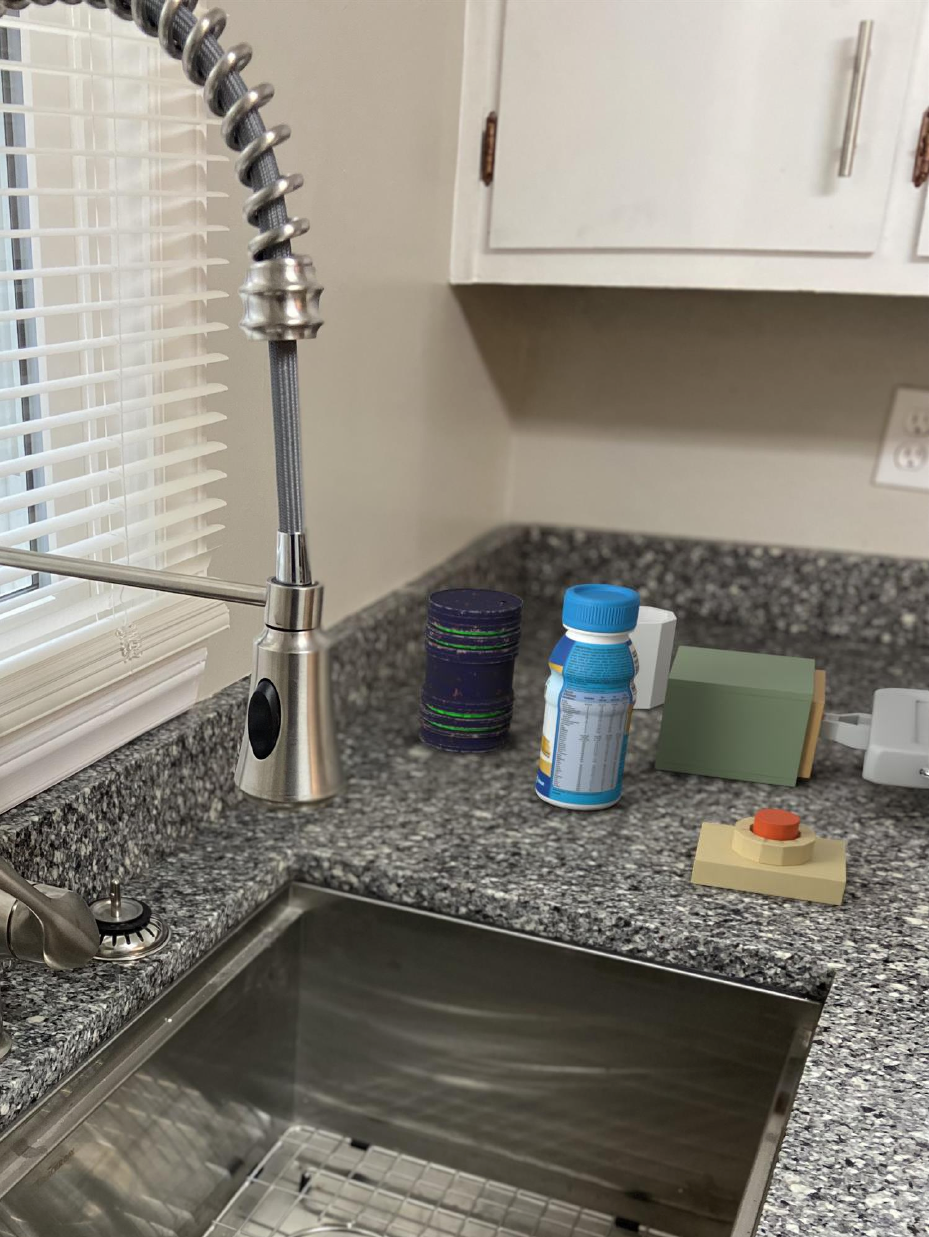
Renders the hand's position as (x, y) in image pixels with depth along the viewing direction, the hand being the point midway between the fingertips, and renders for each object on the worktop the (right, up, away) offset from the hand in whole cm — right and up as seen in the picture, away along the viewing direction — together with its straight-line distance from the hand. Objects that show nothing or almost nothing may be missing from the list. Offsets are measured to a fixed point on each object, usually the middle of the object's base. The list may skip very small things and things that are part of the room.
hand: (818, 724), depth 144 cm
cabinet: (-7, -2, +7) cm, 10 cm away
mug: (-14, +7, +26) cm, 30 cm away
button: (-12, -12, -20) cm, 27 cm away
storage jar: (-33, 0, +12) cm, 35 cm away
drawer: (-4, -2, +6) cm, 8 cm away
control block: (-12, -15, -19) cm, 27 cm away
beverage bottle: (-25, -8, -3) cm, 26 cm away
